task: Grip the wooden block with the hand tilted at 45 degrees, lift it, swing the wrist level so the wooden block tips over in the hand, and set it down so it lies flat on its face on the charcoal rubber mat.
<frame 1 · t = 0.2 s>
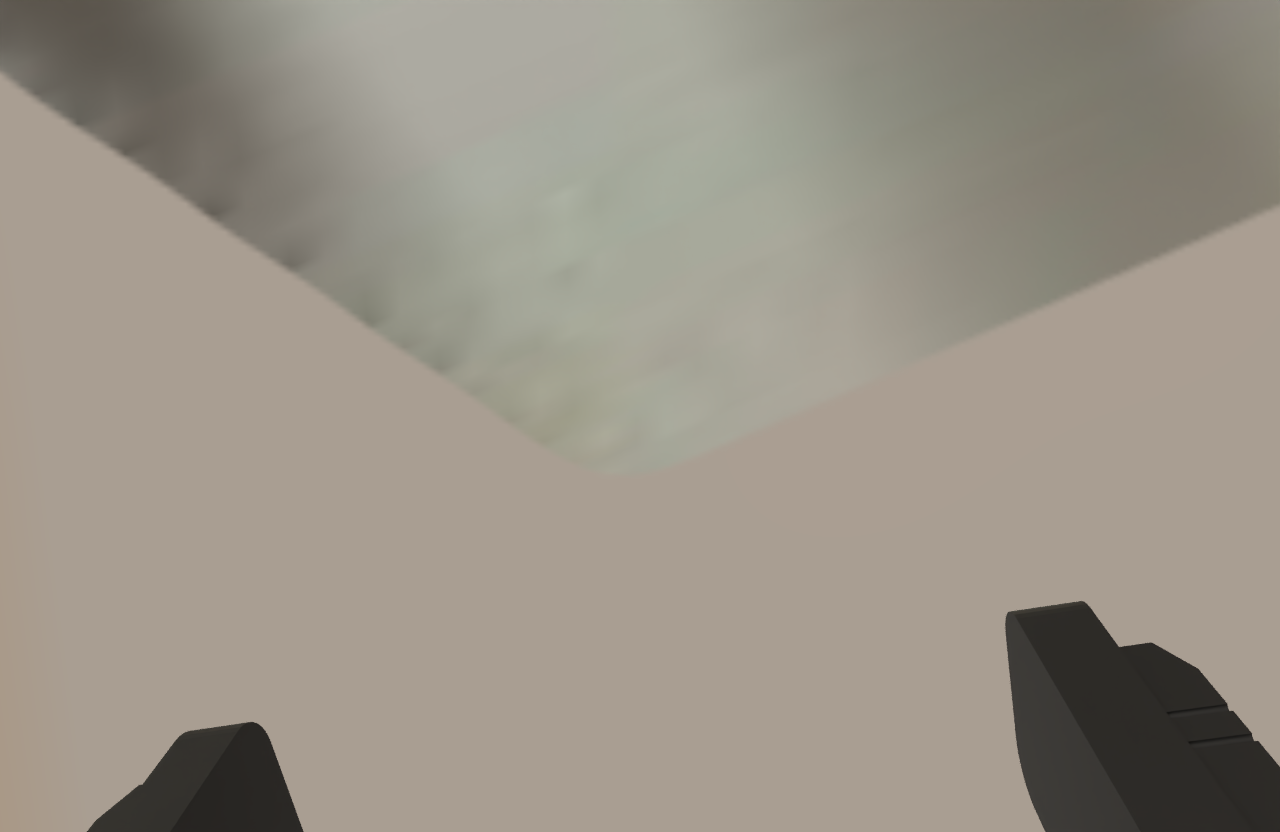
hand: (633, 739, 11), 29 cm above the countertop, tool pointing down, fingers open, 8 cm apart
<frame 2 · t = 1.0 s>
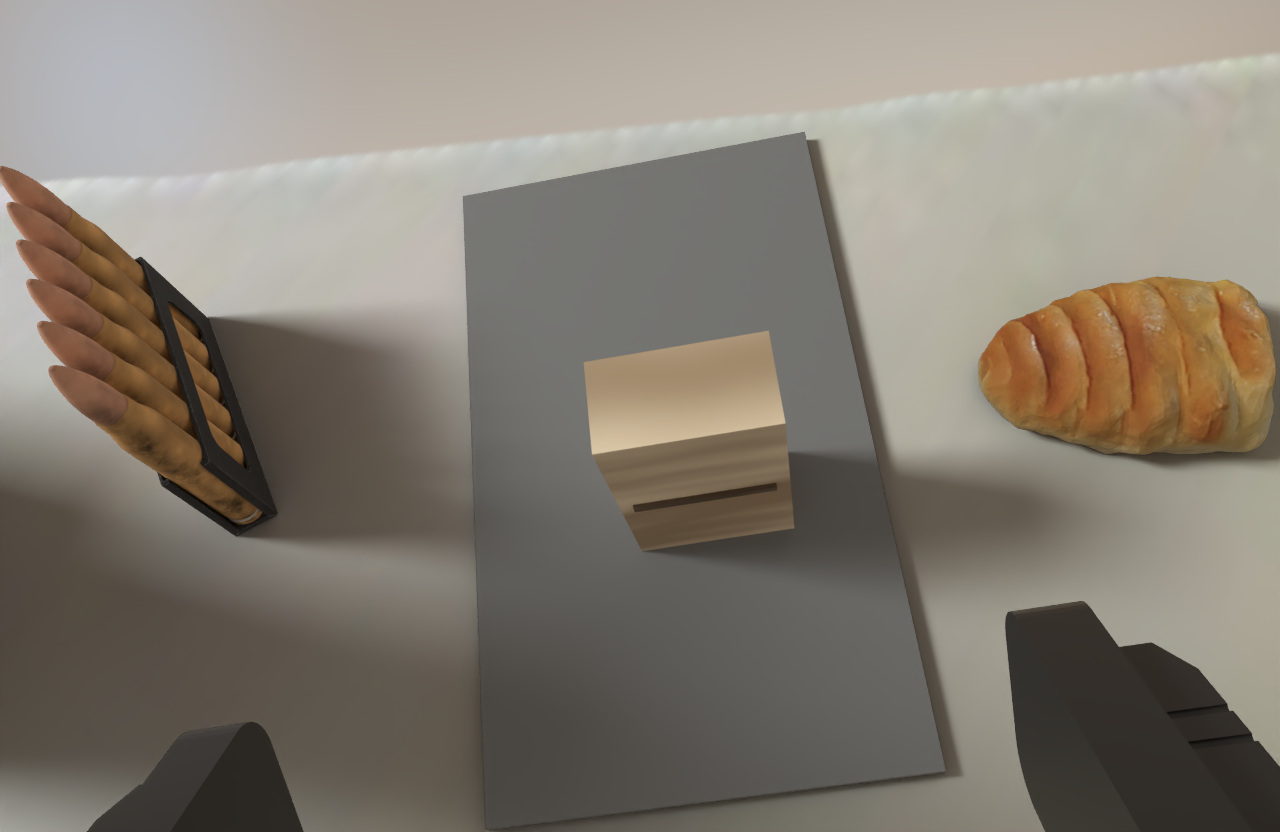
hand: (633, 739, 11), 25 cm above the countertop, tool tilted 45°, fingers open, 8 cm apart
pastry: (1128, 390, 38), on the countertop
ammunition clip: (223, 422, 44), on the countertop
mat: (666, 442, 40), on the countertop
wooden block: (712, 500, 38), resting on mat
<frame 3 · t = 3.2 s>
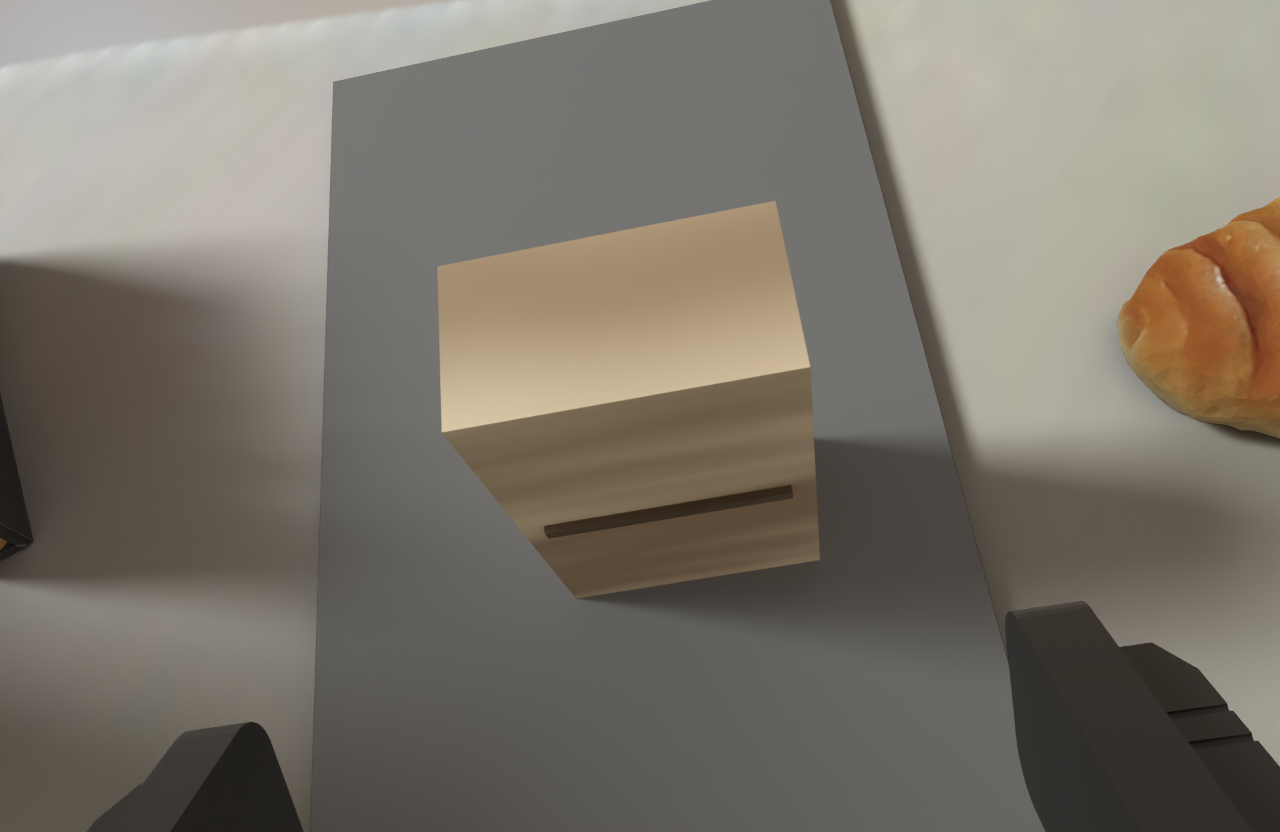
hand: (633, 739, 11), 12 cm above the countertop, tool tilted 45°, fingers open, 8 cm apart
mat: (619, 426, 26), on the countertop
wooden block: (687, 516, 24), resting on mat
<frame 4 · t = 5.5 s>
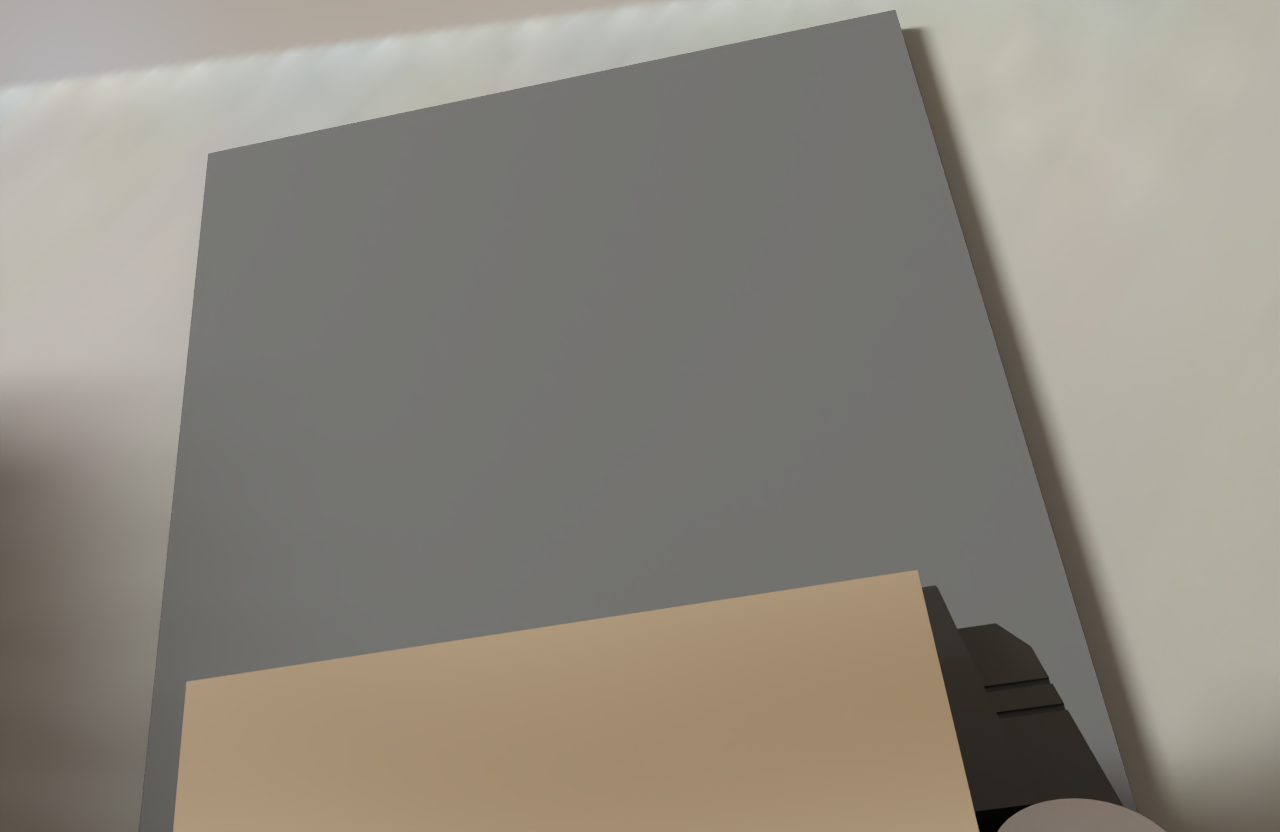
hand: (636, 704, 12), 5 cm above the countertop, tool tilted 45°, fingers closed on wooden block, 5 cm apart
mat: (598, 709, 17), on the countertop
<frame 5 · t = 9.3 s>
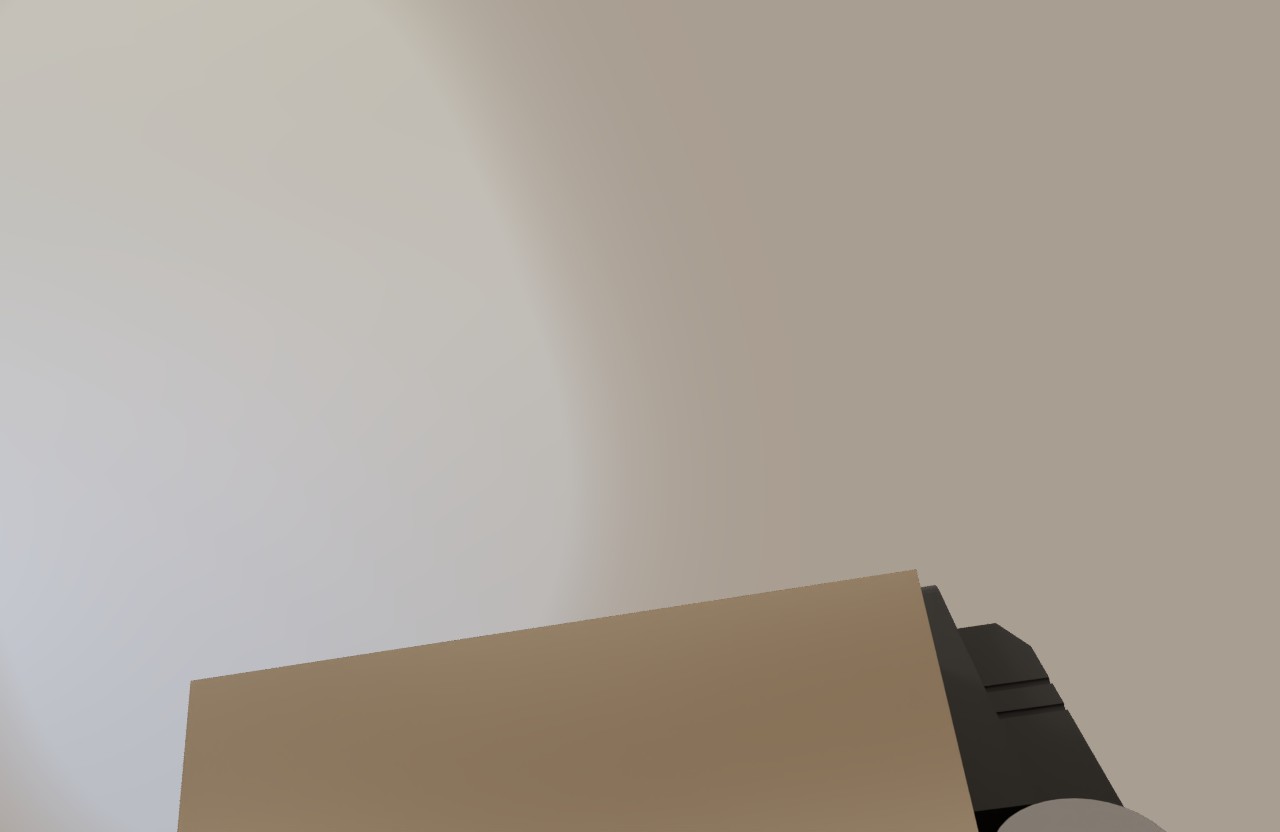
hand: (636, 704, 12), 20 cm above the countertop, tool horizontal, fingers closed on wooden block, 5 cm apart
when the fingers open (7 cm above the countertop, at t = 12.4 s): wooden block moves 2 cm and tips over, resting on mat.
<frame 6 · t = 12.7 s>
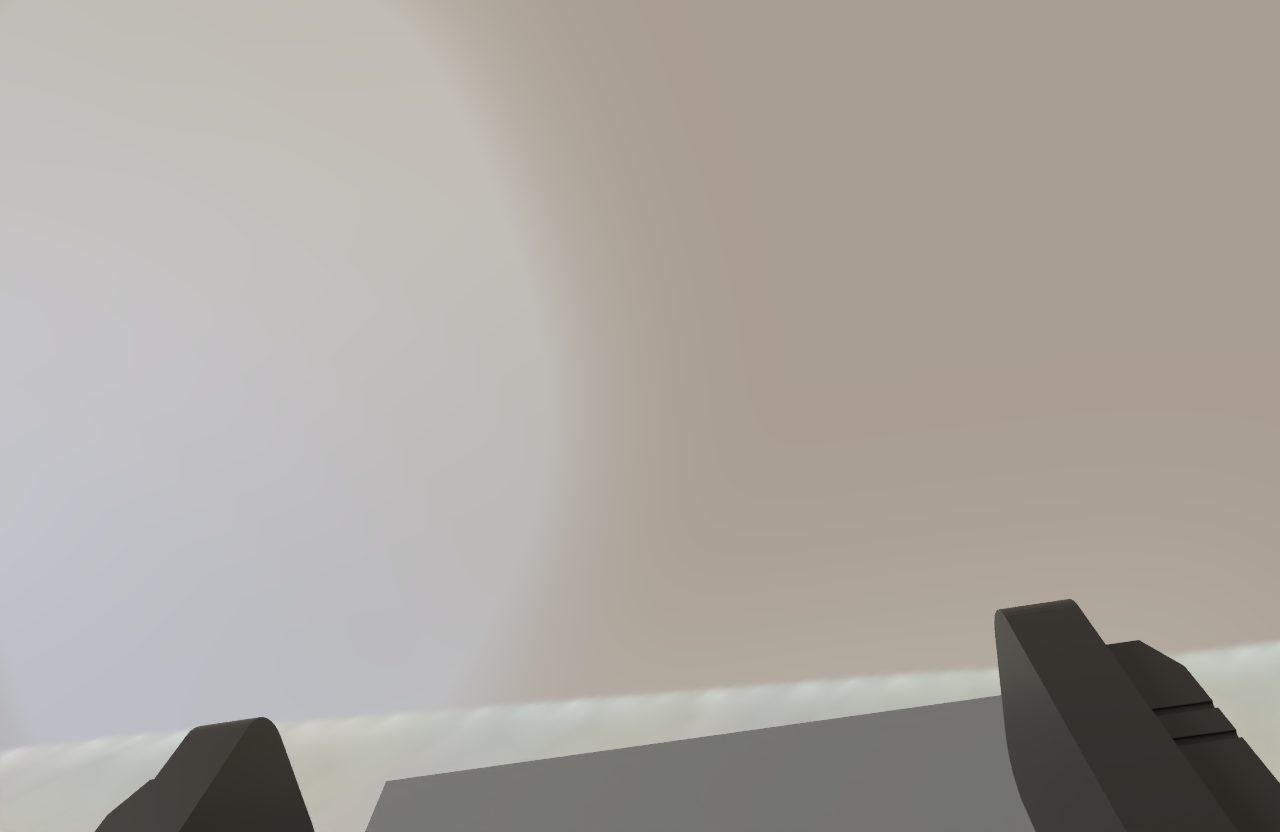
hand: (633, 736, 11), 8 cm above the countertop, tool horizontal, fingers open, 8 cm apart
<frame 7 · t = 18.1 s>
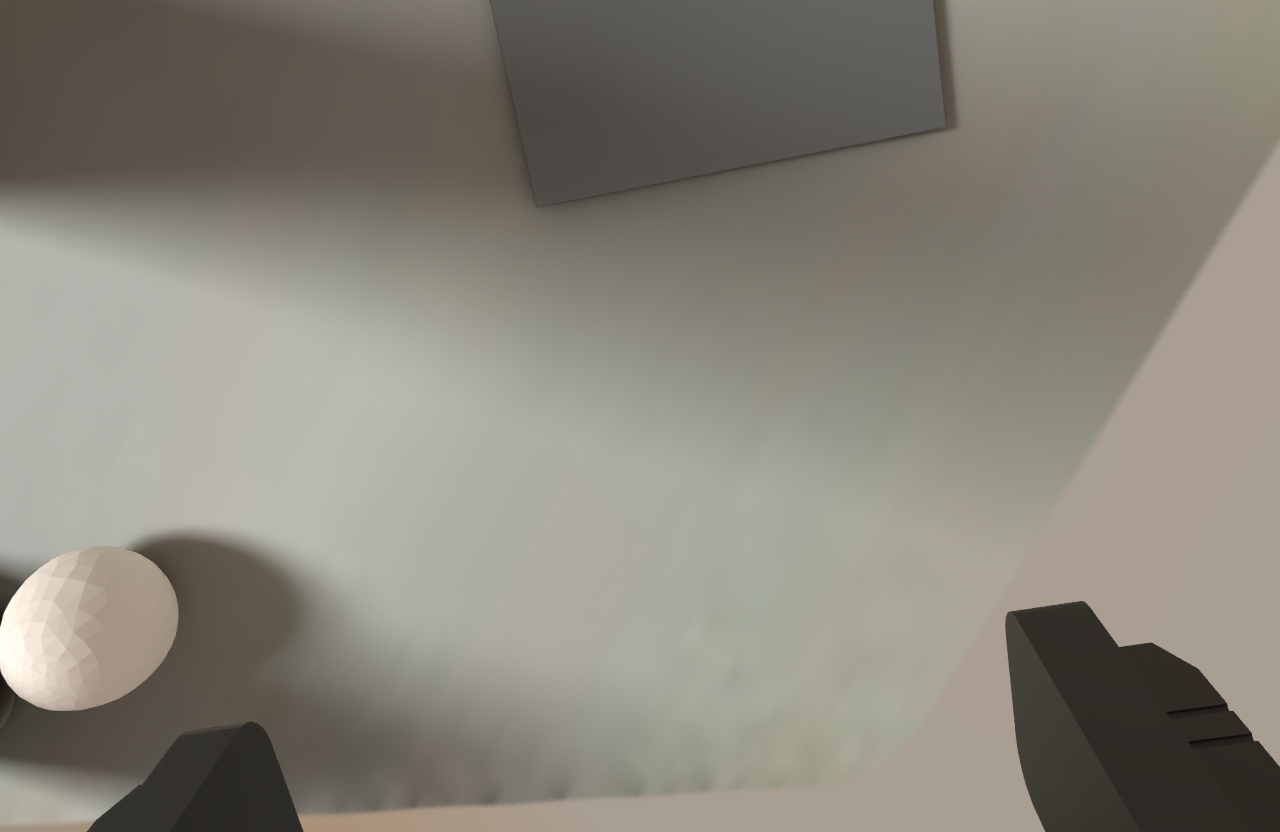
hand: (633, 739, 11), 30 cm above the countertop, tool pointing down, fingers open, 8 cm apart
egg: (139, 580, 46), on the countertop
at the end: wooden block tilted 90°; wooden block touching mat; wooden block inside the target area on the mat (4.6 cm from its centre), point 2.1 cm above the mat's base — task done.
